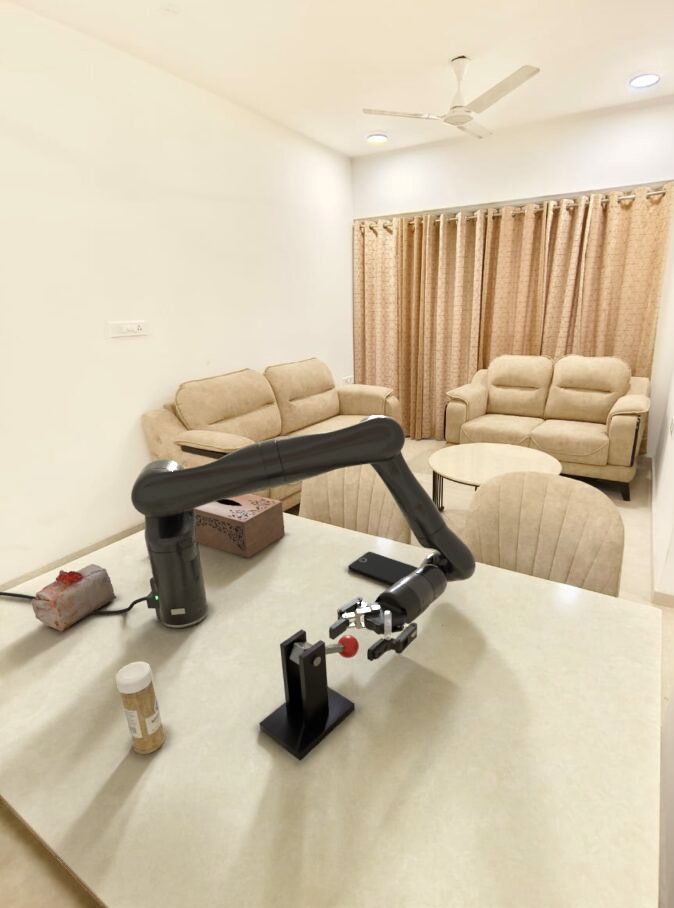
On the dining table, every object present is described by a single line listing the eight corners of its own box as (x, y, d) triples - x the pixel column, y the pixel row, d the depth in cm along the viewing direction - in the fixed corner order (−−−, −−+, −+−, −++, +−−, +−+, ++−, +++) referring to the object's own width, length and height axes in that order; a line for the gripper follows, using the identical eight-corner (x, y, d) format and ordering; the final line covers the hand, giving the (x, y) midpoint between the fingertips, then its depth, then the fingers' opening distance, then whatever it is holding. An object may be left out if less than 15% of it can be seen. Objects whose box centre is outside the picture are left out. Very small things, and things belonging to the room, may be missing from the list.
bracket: (315, 684, 86) (310, 612, 80) (355, 709, 80) (352, 634, 75) (259, 729, 77) (250, 652, 72) (300, 761, 72) (292, 680, 66)
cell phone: (368, 554, 127) (368, 550, 126) (431, 575, 117) (431, 572, 117) (347, 569, 120) (347, 566, 119) (412, 593, 110) (412, 589, 110)
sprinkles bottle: (169, 745, 74) (153, 674, 69) (136, 760, 72) (117, 688, 67) (162, 725, 78) (147, 655, 73) (130, 738, 76) (112, 668, 71)
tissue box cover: (177, 535, 137) (171, 502, 134) (216, 515, 149) (212, 484, 145) (248, 558, 126) (244, 522, 122) (284, 534, 137) (281, 501, 134)
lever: (343, 651, 85) (349, 631, 85) (359, 660, 83) (365, 639, 83) (284, 660, 74) (291, 637, 74) (301, 671, 72) (308, 647, 72)
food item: (60, 637, 98) (47, 594, 94) (34, 626, 101) (21, 585, 97) (120, 600, 109) (110, 561, 106) (95, 591, 112) (85, 553, 109)
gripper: (376, 570, 98) (317, 610, 86) (438, 596, 89) (382, 644, 78) (376, 603, 100) (319, 645, 89) (437, 631, 92) (383, 682, 80)
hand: (349, 645), depth 83 cm, fingers open, 8 cm apart
